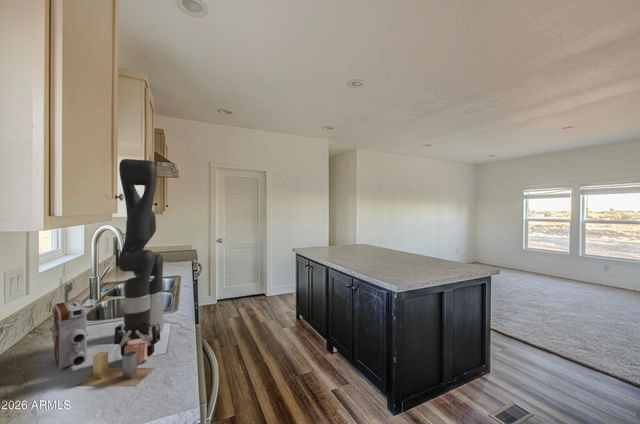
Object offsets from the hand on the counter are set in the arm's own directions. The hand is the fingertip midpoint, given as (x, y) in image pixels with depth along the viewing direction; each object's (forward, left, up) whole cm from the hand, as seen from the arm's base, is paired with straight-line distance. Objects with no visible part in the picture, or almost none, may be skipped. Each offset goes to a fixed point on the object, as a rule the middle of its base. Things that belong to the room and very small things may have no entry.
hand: (137, 355), depth 93 cm
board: (+9, 0, -3) cm, 9 cm away
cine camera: (+1, -22, -3) cm, 22 cm away
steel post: (+9, +4, -2) cm, 10 cm away
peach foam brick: (0, 0, -3) cm, 3 cm away
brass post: (+9, -5, -2) cm, 11 cm away
